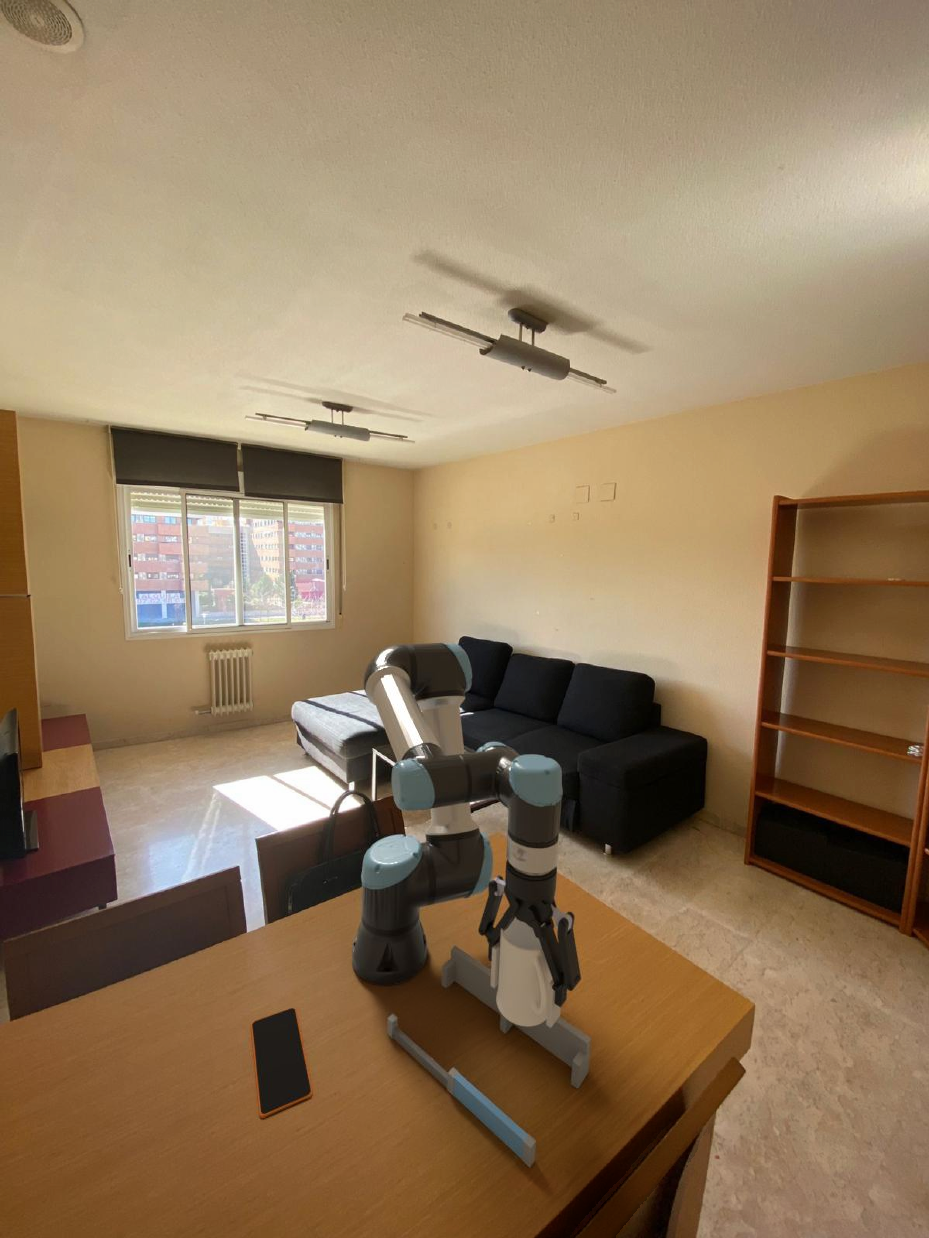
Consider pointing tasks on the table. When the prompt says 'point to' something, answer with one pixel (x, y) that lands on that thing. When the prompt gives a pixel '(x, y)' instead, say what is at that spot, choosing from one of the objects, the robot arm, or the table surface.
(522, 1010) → the mug
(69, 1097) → the table surface
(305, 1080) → the smartphone
